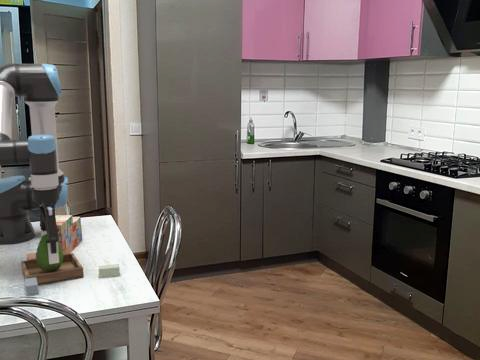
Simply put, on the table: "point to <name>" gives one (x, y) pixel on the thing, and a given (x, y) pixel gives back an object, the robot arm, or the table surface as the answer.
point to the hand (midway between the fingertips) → (50, 256)
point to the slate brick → (31, 286)
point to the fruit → (47, 256)
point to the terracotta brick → (31, 256)
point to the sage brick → (109, 271)
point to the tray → (65, 272)
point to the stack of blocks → (68, 232)
